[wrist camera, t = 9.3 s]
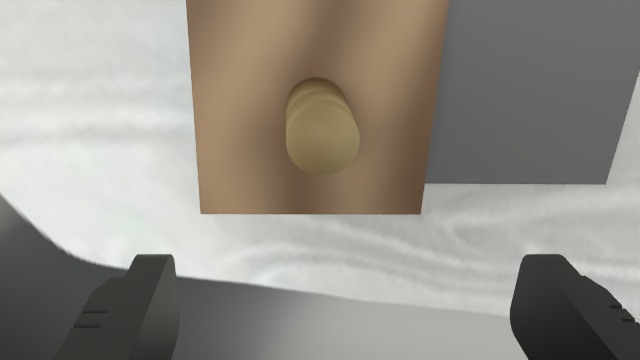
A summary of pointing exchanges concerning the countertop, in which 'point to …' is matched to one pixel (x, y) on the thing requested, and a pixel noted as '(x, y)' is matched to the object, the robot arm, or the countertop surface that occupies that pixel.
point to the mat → (533, 90)
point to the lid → (314, 103)
